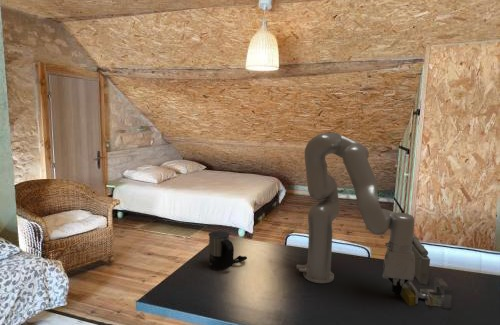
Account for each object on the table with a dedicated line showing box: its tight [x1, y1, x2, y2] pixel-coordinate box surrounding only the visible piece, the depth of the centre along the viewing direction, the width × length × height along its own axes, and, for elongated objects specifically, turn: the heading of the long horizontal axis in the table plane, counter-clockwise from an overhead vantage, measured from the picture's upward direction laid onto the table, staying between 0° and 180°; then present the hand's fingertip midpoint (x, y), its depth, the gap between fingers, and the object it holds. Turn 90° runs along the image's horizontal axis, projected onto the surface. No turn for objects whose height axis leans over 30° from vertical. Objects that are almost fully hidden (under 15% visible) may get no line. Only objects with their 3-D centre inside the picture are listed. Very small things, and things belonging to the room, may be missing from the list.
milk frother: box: [208, 230, 248, 271], centre depth 147 cm, size 14×16×15 cm
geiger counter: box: [412, 234, 431, 285], centre depth 145 cm, size 14×6×25 cm
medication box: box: [396, 279, 417, 307], centre depth 124 cm, size 12×3×4 cm, turn 177°
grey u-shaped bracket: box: [419, 276, 453, 309], centre depth 122 cm, size 8×9×7 cm
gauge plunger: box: [407, 281, 440, 307], centre depth 121 cm, size 11×10×4 cm
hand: (396, 293), depth 124 cm, fingers closed
